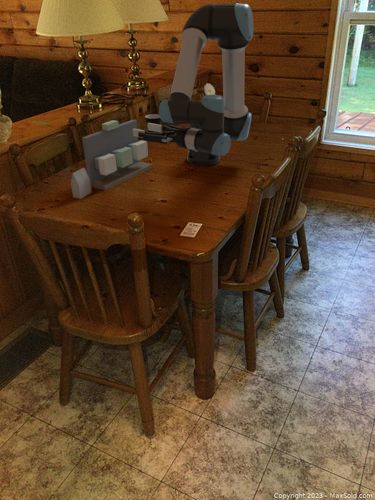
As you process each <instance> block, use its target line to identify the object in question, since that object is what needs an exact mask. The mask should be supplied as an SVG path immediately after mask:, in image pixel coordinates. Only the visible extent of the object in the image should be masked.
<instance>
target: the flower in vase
mask: <svg viewBox="0 0 375 500" xmlns="http://www.w3.org/2000/svg"><path fill="white" fill-rule="evenodd" d="M203 88H204V89H203V90H204V94H205V95H216V90H215V87H214V86H213V85H212V84H211V83H206V84H205V85H204V87H203ZM201 100H202V99H199V100H198V101H201Z"/></svg>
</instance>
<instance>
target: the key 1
mask: <svg viewBox="0 0 375 500" xmlns="http://www.w3.org/2000/svg"><path fill="white" fill-rule="evenodd" d="M93 159H94V166H95V169H99V170H100V174H102V175H108V174H110V173H112V172H114V171H117V166H116V157H115V155H114V154H107V155H105V156H101V155H99V156H97V157H94V158H93Z"/></svg>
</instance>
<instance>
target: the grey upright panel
mask: <svg viewBox="0 0 375 500" xmlns="http://www.w3.org/2000/svg"><path fill="white" fill-rule="evenodd" d="M101 128H102V130H99V131H96V132H95V133H91V134H88V135H86V136H83V137H81V140H82V147H83V154H84V160H85V166H86V168H85V169H86V173H87V174H88V176H89V178H90V185H91V188H95V189H99V190H101V191H107V190H110V189H112V188H113V187H116V186H118V185H120V184H121V183H124V182H126V181H128V180H131V179H132V178H134V177H136V176H138V175H140V174H142V173H144V172H146V171H149V170H150V169H152V168H153V164H152V163H148V162H143V161H141V160H134V159H133V163H132V164H130V165H128V166H125V167H123V168H122V167H118V166H117V162H116V166H117V171H114V172H112V173H110V174H108V175H102V174H100V170H99V169H95V166H94V159H93V158H94V157H97V156H99V155H101V156H105V155H107V154H111V151H112V150H114V149H117V148H118V149H122V148H124V147H127V144H129V143H131V142H135V143H136V142H139V137H135V136H133V129H138V122H137V119H131V120H128V121H125V122H122V123H119V120H114V119H113V120H108V121H106V122H104V123H101ZM132 156H133V155H132Z"/></svg>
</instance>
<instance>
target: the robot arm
mask: <svg viewBox="0 0 375 500" xmlns="http://www.w3.org/2000/svg"><path fill="white" fill-rule="evenodd" d="M253 37H254V17H253V12H252V8H251V7H250V5H249V4H247V3H239V2H234V3H206V4H204V5H202V6H200V7H198V8H197V9H196V10H194V11H193V12H192V13H191V14H190V16H189V17H188V18H187V20H186V21H185V24H184V25H183V27H182V30H181V35H180V39H181V42H182V43H181V47H180V51H179V54H178V59H177V62H176V63H177V64H176V67H175V72H174V77H173V81H172V84H171V87H170V93H169V97H168V99H163V100H161V102H160V103H159V106H158V113H159V114H158V115H160V118H161V122H163V123H168V124H163V125H162V124H161V125H158V124H153V123H148V130H150V131H155V132H148V130H147V129H145V130H143V129H140V128H137V129H133V136H135V137H138V138H140V139H143V141H147V143H148V142H150V143H156V144H163V145H168V142H169V143H175V144H176V145H177V147H178V148H181V149H185V150H186V149H188V151H187V154H186V155H187V156H186V161H187V163H189V164H191V165H194V166H204V167H205V166H206V167H207V166H212V165H216V164H218V163H219V162H221V156H225V155H226V154H227V153H228V152H229V151H230V149H231V145H232V141H236V142H237V141H246V140H247V138H248V137H249V132H250V128H251V122H252V117H253V116H252V113H251V112H249V108H248V107H247V106H246V104H245V73H246V71H245V64H246V63H245V61H246V60H245V58H246V57H245V55H246V54H245V51H246V50H245V49H246V48H247V47H248V46H249V44H250V41H252V39H253ZM210 40H212V41H213V40H215V41H216V40H217V47H218V48H219V49H220V50H221V59H222V61H221V62H222V91H223V94H222V95H223V96H222V95H218V94H215V95H206V94H205V95H204V96H202V97H201V99H200V100H201V101H199V100H198V101H197V100H196V101H195V100H192V95H193V92H194V88H195V83H196V78H197V74H198V70H199V65H200V61H201V56H202V52H203V48H204V47H206V45H207V43H208V41H210ZM174 124H182V125H183V124H188V125H189V126H190V127H188V126H178V125H174ZM159 132H160V133H159Z"/></svg>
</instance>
